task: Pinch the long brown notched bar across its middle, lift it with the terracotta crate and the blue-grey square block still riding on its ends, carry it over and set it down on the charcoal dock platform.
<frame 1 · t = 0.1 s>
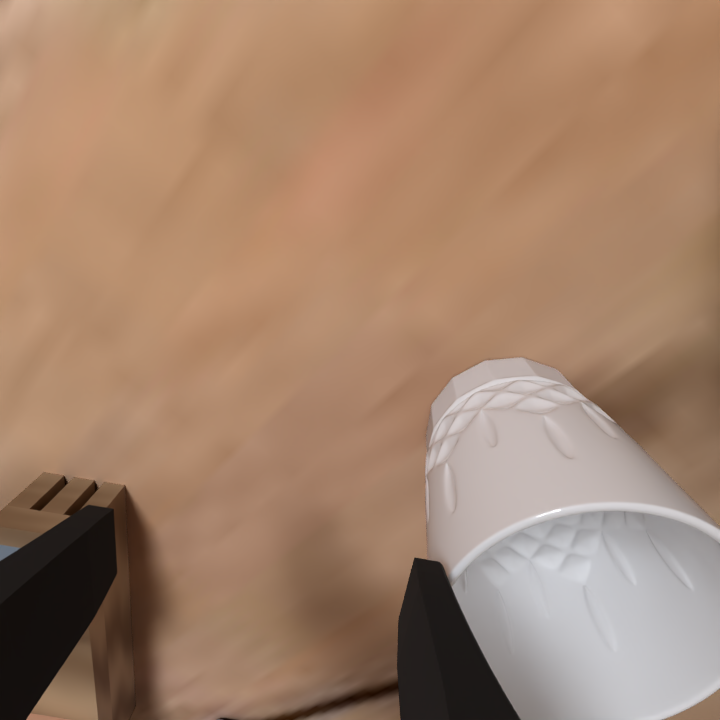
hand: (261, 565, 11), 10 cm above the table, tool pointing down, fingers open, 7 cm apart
white cup: (502, 424, 21), on the table
brown notched bar: (98, 597, 27), on the table, touching blue-grey square block
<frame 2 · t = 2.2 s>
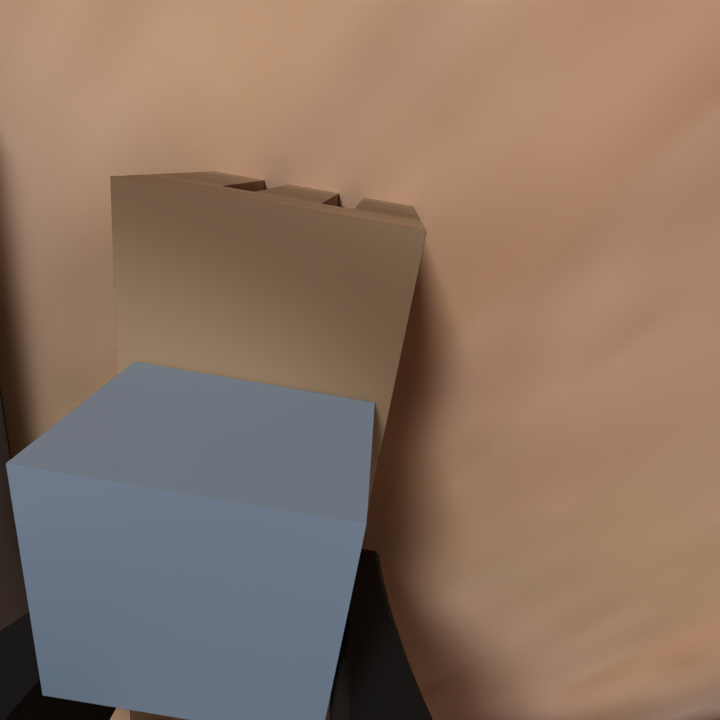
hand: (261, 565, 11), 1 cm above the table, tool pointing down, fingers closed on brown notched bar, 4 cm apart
blue-grey square block: (246, 480, 8), point 4 cm above the table
brown notched bar: (276, 518, 13), on the table, touching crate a, gripper
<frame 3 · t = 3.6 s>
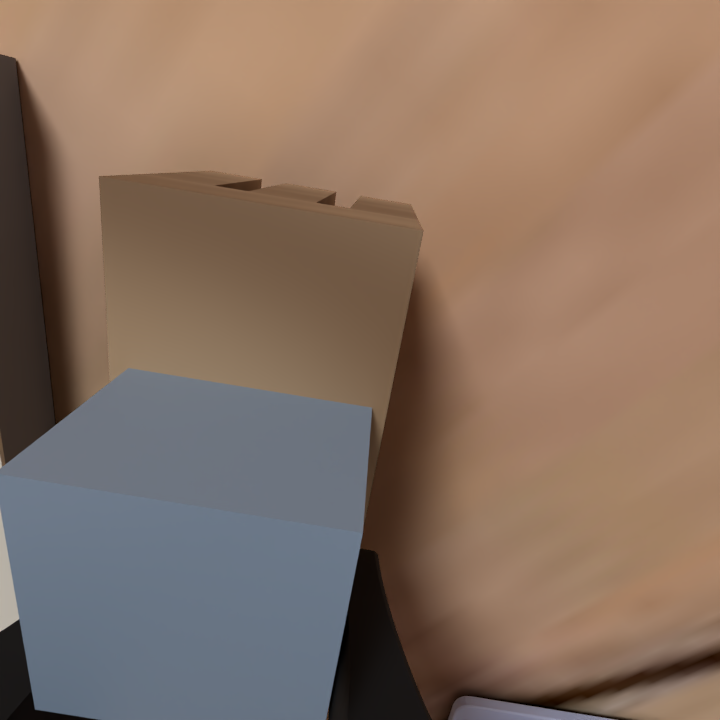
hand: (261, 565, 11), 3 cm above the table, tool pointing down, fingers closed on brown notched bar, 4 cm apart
blue-grey square block: (243, 487, 7), point 6 cm above the table, touching brown notched bar
brown notched bar: (274, 522, 13), point 2 cm above the table, touching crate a, blue-grey square block, gripper
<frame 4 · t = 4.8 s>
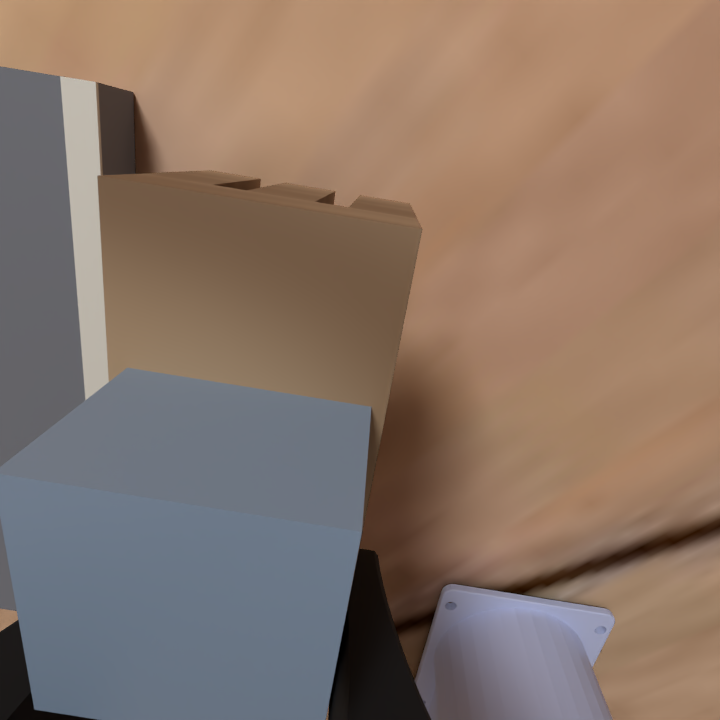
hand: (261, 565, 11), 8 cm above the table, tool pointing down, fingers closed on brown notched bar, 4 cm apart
blue-grey square block: (242, 487, 7), point 11 cm above the table, touching brown notched bar
dock: (19, 376, 20), on the table
brown notched bar: (274, 521, 13), point 7 cm above the table, touching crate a, blue-grey square block, gripper
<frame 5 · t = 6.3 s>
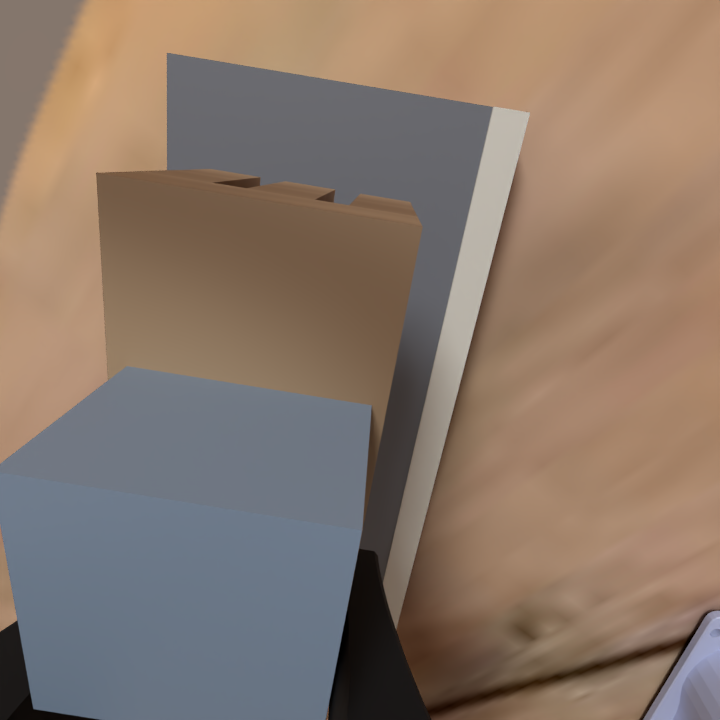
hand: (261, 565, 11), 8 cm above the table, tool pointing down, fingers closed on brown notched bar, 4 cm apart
blue-grey square block: (242, 486, 7), point 11 cm above the table, touching brown notched bar
dock: (313, 402, 19), on the table
brown notched bar: (274, 521, 13), point 7 cm above the table, touching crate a, blue-grey square block, gripper
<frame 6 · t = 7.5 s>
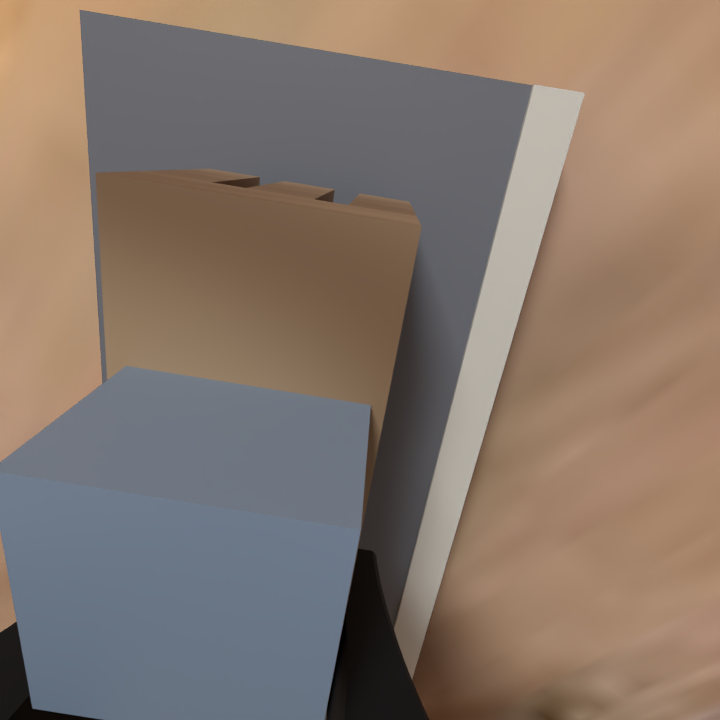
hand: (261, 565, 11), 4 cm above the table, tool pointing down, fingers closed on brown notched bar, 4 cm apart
blue-grey square block: (241, 485, 7), point 7 cm above the table, touching brown notched bar
dock: (294, 459, 16), on the table
brown notched bar: (274, 521, 13), point 3 cm above the table, touching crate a, blue-grey square block, gripper
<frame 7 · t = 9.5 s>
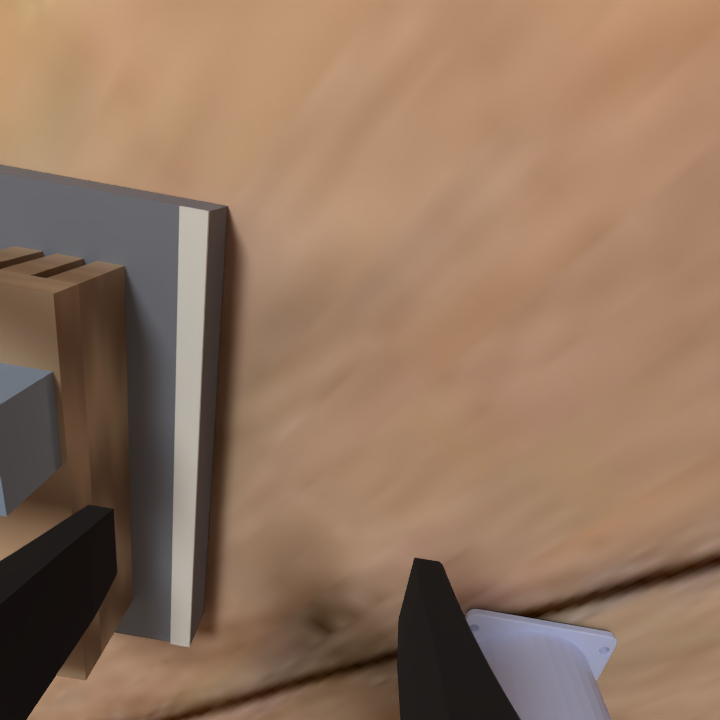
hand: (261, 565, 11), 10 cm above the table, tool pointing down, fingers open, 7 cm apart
blue-grey square block: (3, 411, 15), point 6 cm above the table, touching brown notched bar
dock: (108, 428, 23), on the table
brown notched bar: (83, 451, 21), point 2 cm above the table, touching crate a, blue-grey square block, dock
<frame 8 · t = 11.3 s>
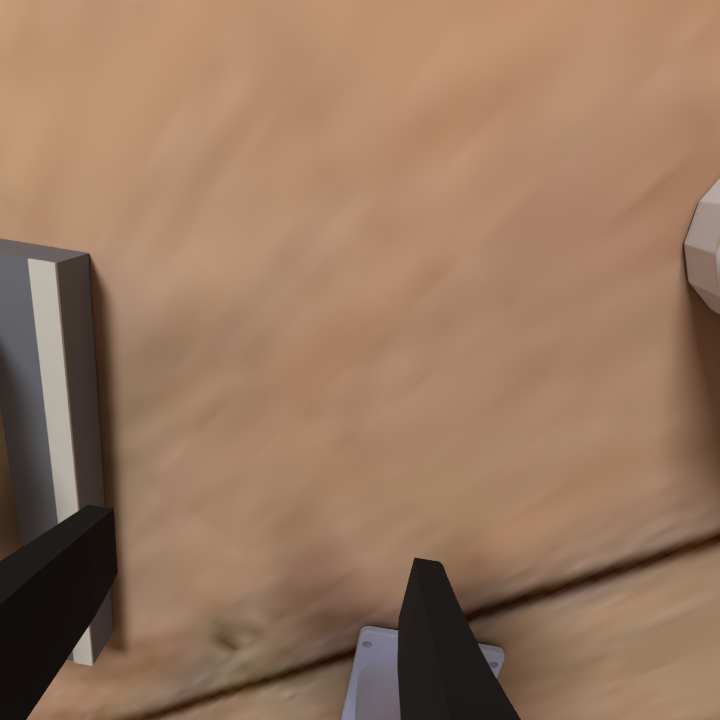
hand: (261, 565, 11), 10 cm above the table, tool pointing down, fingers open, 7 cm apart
dock: (2, 459, 24), on the table
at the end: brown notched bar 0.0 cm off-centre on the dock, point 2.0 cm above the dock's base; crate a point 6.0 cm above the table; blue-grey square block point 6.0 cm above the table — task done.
